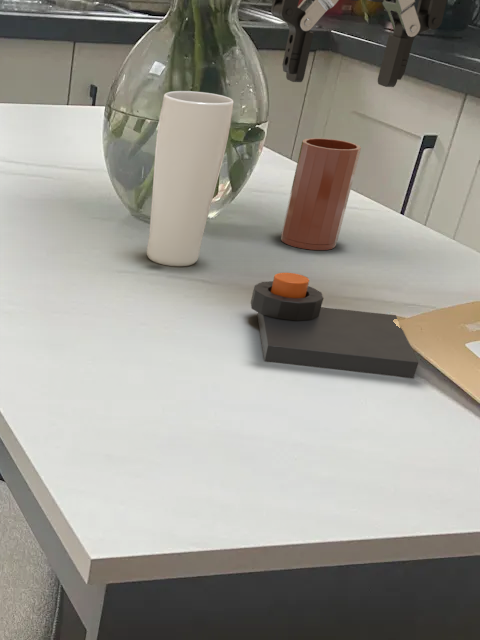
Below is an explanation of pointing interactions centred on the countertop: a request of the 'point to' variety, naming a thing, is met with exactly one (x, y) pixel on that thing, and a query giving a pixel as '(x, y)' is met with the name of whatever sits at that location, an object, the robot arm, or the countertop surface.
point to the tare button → (290, 285)
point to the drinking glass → (186, 173)
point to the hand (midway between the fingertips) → (340, 83)
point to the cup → (320, 193)
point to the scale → (330, 335)
